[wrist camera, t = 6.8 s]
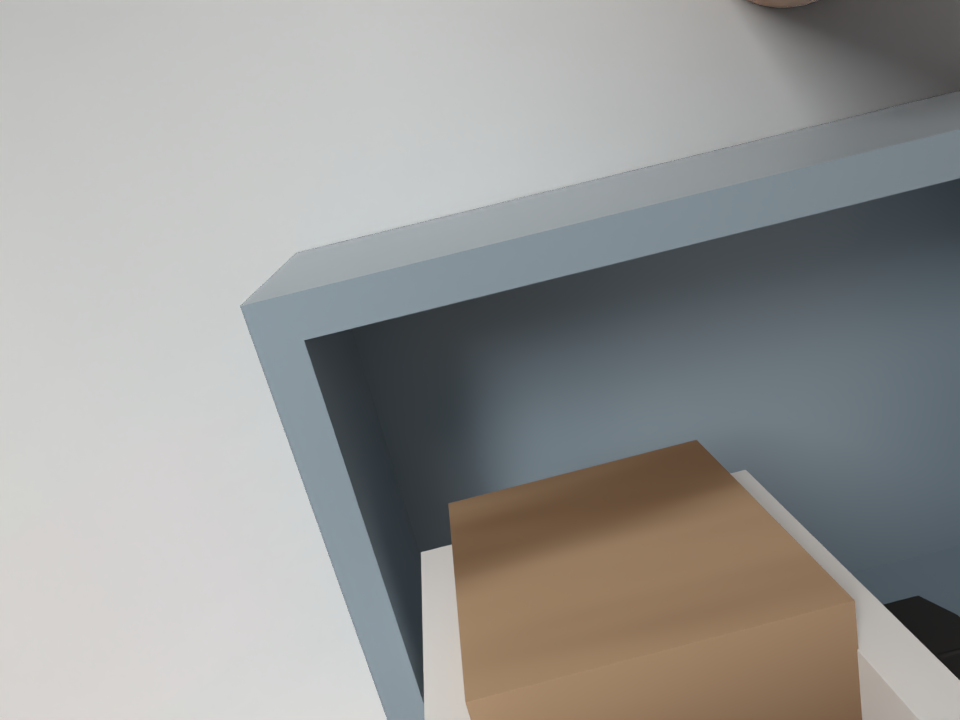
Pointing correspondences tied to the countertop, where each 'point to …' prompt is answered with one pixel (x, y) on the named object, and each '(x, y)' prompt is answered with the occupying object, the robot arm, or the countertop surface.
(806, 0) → the capsule
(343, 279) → the tote
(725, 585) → the cube
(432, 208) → the countertop surface
